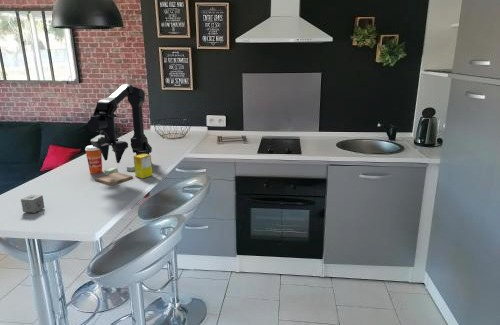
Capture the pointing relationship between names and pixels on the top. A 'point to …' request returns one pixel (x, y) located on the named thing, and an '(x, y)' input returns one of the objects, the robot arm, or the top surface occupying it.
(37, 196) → the dice cube
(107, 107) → the robot arm
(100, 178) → the walnut board
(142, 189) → the top surface
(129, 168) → the slate brick
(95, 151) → the paper cup
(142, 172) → the supplement box
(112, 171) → the sage brick
